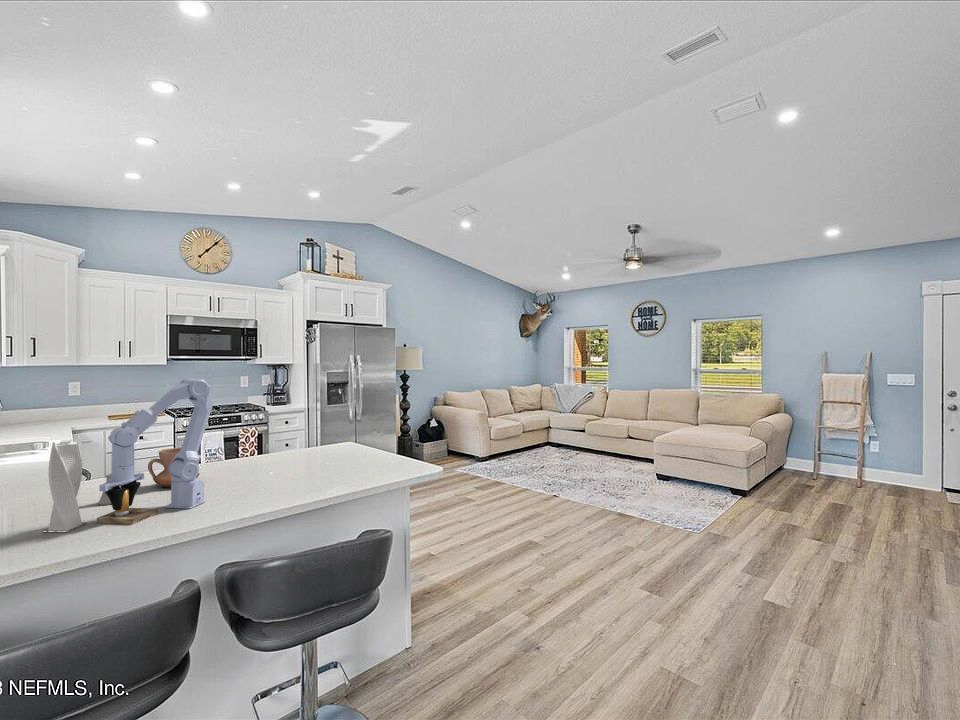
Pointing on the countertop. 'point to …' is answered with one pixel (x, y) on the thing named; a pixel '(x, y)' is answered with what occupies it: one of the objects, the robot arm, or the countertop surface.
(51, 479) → the skyscraper
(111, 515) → the wooden tray
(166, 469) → the ceramic jug
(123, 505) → the orange upright cylinder
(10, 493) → the countertop surface
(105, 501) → the flask
